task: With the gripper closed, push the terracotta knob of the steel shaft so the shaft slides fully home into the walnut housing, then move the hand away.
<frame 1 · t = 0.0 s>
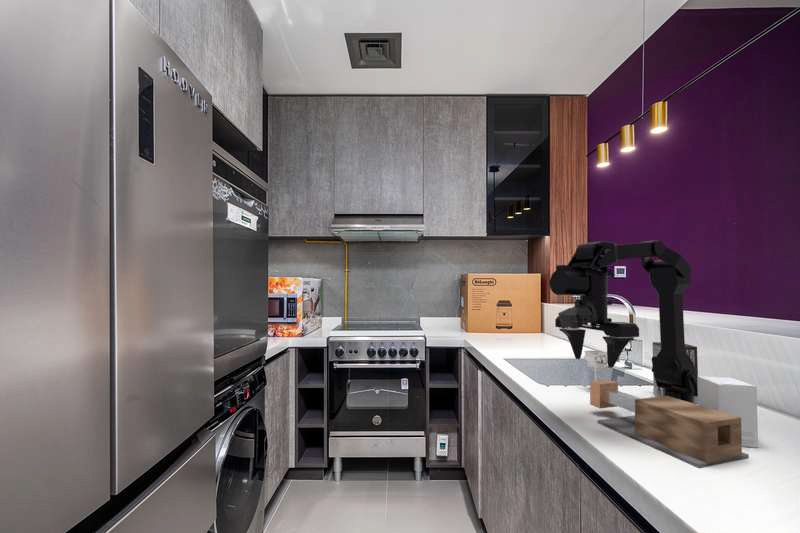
hand: (593, 363, 84), 15 cm above the counter, tool pointing down, fingers open, 9 cm apart
shaft: (633, 404, 86), point 5 cm above the counter, slide at 8.0 cm
wineglass: (596, 392, 112), on the counter
supplement box: (726, 440, 79), on the counter
coffee box: (675, 400, 106), on the counter
housing: (684, 446, 75), on the counter
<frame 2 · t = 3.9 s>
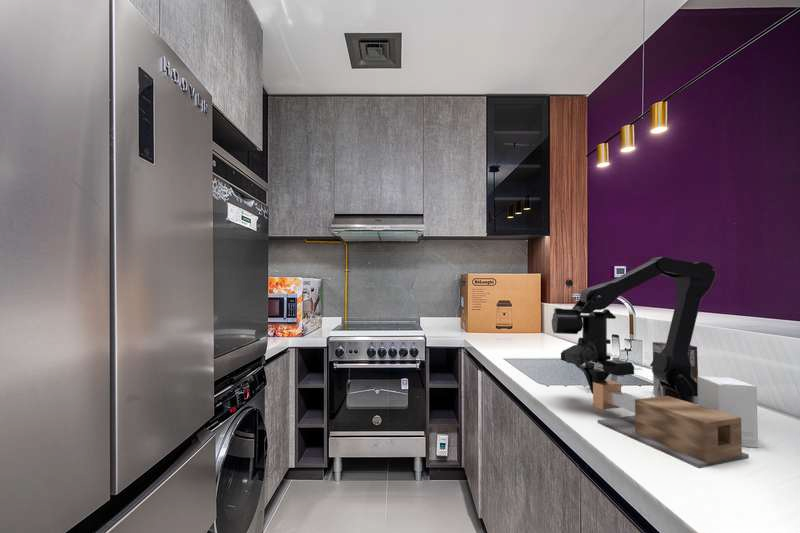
hand: (594, 394, 96), 4 cm above the counter, tool pointing down, fingers closed
shaft: (637, 405, 85), point 5 cm above the counter, slide at 7.1 cm, touching gripper
everything else where it was.
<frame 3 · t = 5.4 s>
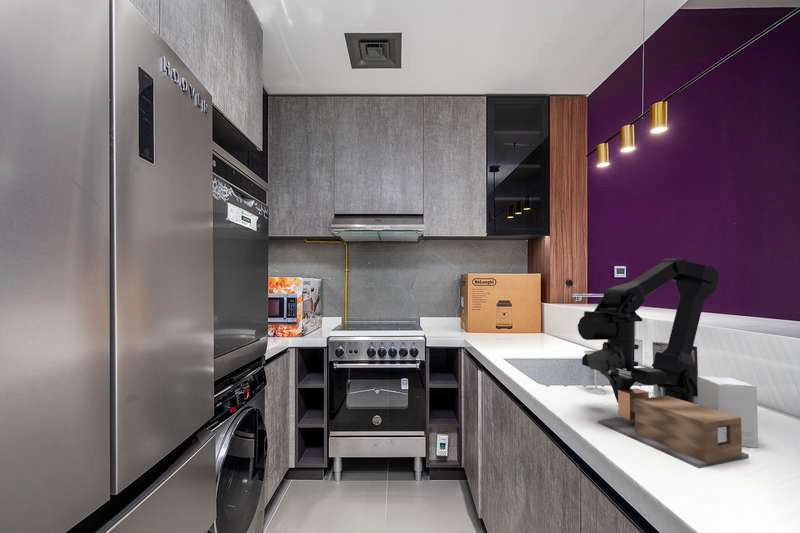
hand: (619, 403, 89), 4 cm above the counter, tool pointing down, fingers closed
shaft: (669, 416, 78), point 5 cm above the counter, slide at -0.2 cm, touching gripper
everything else where it was.
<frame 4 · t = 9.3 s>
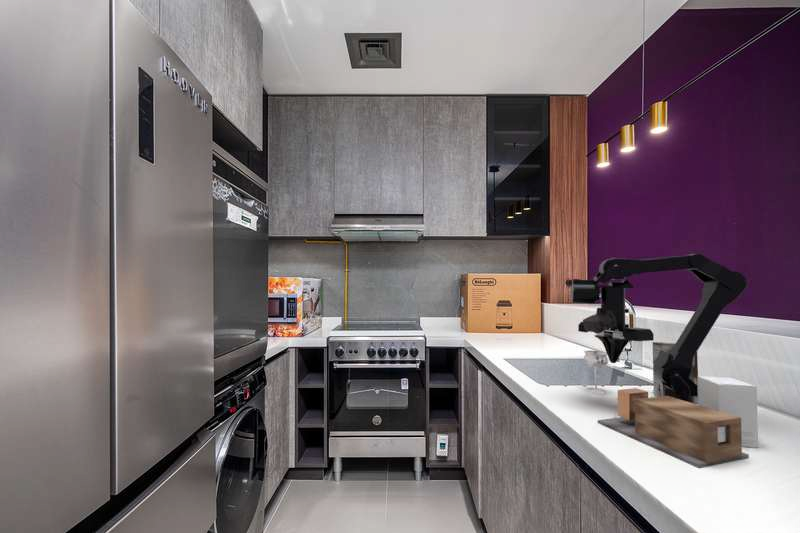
hand: (613, 362, 98), 12 cm above the counter, tool pointing down, fingers closed
shaft: (668, 416, 78), point 5 cm above the counter, slide at 0.0 cm
everything else where it was.
at the end: shaft slide at 0.0 cm; supplement box moved 0.3 cm from its start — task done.
